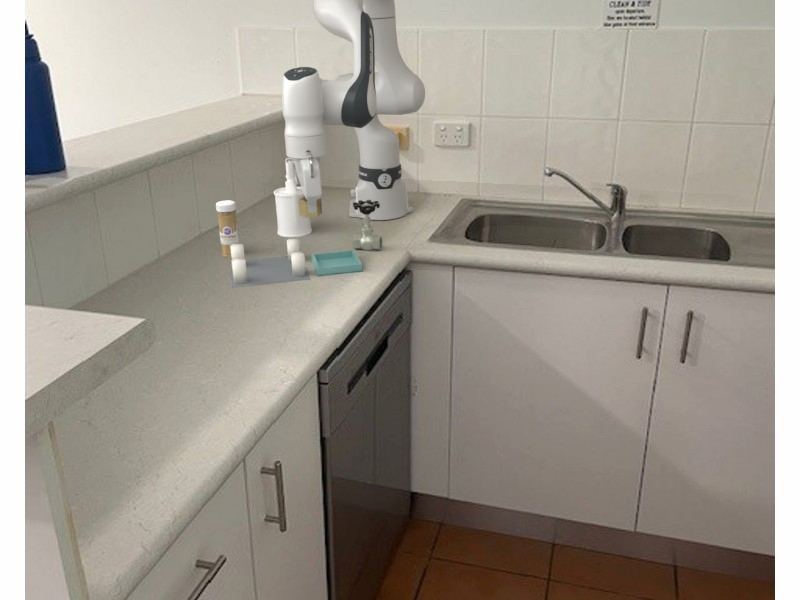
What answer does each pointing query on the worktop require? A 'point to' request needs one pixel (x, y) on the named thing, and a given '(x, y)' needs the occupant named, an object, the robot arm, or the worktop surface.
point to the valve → (367, 227)
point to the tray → (336, 263)
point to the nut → (304, 208)
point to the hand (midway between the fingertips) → (310, 208)
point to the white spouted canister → (290, 206)
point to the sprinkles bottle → (227, 225)
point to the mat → (268, 271)
